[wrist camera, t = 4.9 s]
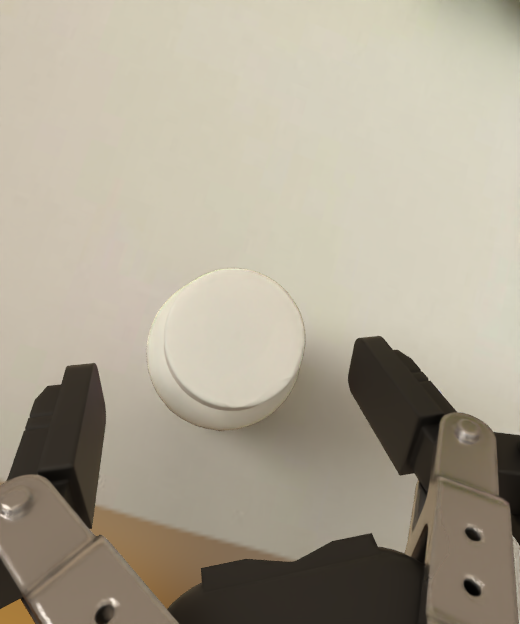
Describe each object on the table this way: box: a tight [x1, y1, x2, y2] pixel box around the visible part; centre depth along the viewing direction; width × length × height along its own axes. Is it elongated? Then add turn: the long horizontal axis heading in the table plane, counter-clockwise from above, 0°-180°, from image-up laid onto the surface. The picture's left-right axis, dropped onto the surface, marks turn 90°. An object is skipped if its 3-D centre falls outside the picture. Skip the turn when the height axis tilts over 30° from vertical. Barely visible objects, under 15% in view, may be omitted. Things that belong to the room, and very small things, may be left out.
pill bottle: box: [146, 268, 305, 431], centre depth 16 cm, size 5×5×10 cm
